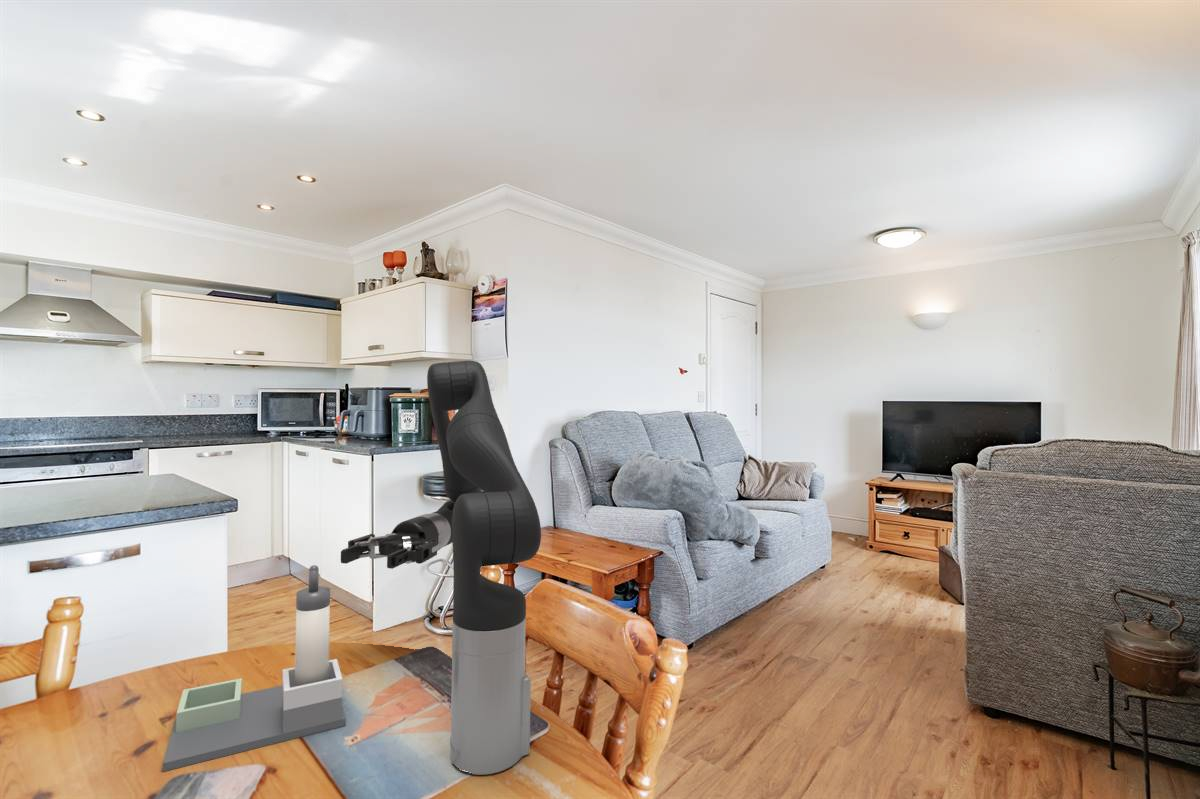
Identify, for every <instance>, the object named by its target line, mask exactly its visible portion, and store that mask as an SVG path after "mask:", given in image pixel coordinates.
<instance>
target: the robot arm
mask: <svg viewBox="0 0 1200 799" xmlns="http://www.w3.org/2000/svg"><path fill="white" fill-rule="evenodd" d="M426 376H427V377H426V383H427V393H428V394H427V395H428V400H429V407H430V412H431V416H432V422H433V426H434V431H435V436H436V440H437V443H438V449H439V452H440V456H441V462H442V473H443V483H444V493H445V495H446V497H447V498H448V499H449V500H447V501H445V502H444V503H443V504H442V506H440V507H439V509H437V510H436V511H434V512H431V513H424V514H421V515H418V516H415V517H412V518H409V519H407V520H404V521H401V522H400V523H398V524H396V526H395V527H394V528H393V530H392V532H390V533H386V534H384V535H381V536H380V535H379V536H376V535H375V534H374V533H369V534H367V535H364V536H359V537H358V538H355V539H354V538H353V539H350V540H348V541H347V542H348V543H347V547H345V548H343V549H342V550H341V551H340V563H341V564H349V563H351V562H354V561H357V560H359V559H362V558H363V559H364V558H367V557H368V558H370V559H371V560H375V559H376V560H377V559H381V558H386V560H387V561H386V568H387V569H391V570H393V569H394V568H397V567H399V566H402V565H403V564H407V565H408V564H411V563H415V564H419V565H420V564H423V563H425V562H427V561H429V560H431V559H432V558H434V557H436V556H437V555H438V551H440V550H441V549H443V548H444V547H447V546H449V545H450V544H452V558H453V559H452V561H453V562H452V563H453V566H452V568H453V587H452V588H453V593H452V594H453V595H452V596H453V597H452V598H453V599H452V600H453V602H452V603H453V604H452V606H453V607H452V634H451V635H452V636H451V639H452V641H451V644H452V645H451V647H452V649H451V693H450V694H451V695H450V696H451V697H450V706H451V707H450V739H449V746H450V754H449V755H450V756H449V757H450V761H452V762H453V763H452V762H451V763H452V765H453V764H454V765H455V766H456V767H457V768H456V767H455V766H454V765H453V766H454V767H455V768H456V769H458V768H459V769H461V770H465V771H468V772H471V773H472V774H471V775H477V776H478V775H479V776H481V775H492V774H496V773H500V772H502V771H505V770H507V769H509V768H511V767H513V766H514V765H515V764H517V763H518V762H519V760H520V759H522V758H523V757H524V756H527V755H529V754H530V752H531V751H530V744H531V740H530V739H531V699H532V698H531V695H532V694H531V693H532V692H531V691H532V690H531V688H532V686H531V685H532V684H531V683H532V682H531V681H532V680H531V678H530V677H529V675H527V672H526V621H527V617H526V616H527V599H526V596H525V594H524V593H523V592H522V591H521V590H520V589H518V588H516V587H514V586H511V585H508V584H505V583H501V582H500V583H499V582H496V581H495V580H492V579H489V578H487V577H486V576H483V574H481V568H482V567H488V566H489V567H490V566H491V567H492V566H499V565H501V566H502V565H511V564H519V563H523V562H527V561H529V560H531V559H533V558H534V557H535V556H536V555H537V553H538V552H539V550H540V548H541V547H540V546H541V542H542V527H541V520H540V515H539V512H538V509H537V506H536V503H535V501H534V498H533V496H532V494H531V492H530V490H529V488H528V486H527V485H526V482H525V481H524V479H523V477H522V476H521V473H520V471H519V470H518V468H517V465H516V463H515V461H514V458H513V455H512V452H511V449H510V445H509V442H508V438H507V436H506V432H505V431H504V427H503V425H502V423H501V421H500V418H499V415H498V413H497V411H496V407H495V405H494V402H493V398H492V393H491V390H490V384H489V381H488V380H489V379H488V376H487V373H486V371H485V368H484V367H483V365H482V364H481V363H480V362H478V361H476V360H460V361H459V360H458V361H457V360H456V361H448V362H437V363H436V362H435V363H432V364H431V365H429V367H428V369H427V374H426ZM449 411H450V412H451V411H457V412H455V414H454V415H453V417H452V418H451V419H450V416H449ZM482 491H483V492H482ZM376 547H378V552H377V553H376ZM459 769H458V770H459ZM461 770H460V771H461Z"/></svg>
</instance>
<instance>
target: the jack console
mask: <svg viewBox="0 0 1200 799" xmlns="http://www.w3.org/2000/svg"><path fill="white" fill-rule="evenodd" d="M281 673H282V676H281V677H282V678H281V680H282V681H281V683H282V684H280V685H278V686H273V687H268V688H264V689H259V690H254V691H250V692H249V691H248V692H244V693H242V692H243V691H242V690H243V678H237V679H232V680H231V679H230V680H226V681H220V682H216V683H211V684H206V685H200V686H196V687H191V688H185V689H183V690H182V693H181V696H180V700H179V703H178V707H177V711H176V717H175V720H174V722H173V727H172V731H171V733H170V737H169V741H168V744H167V748H166V750H165V751H166V752H165V754H164V758H163V761H162V772H163V773H164V772H167V771H172V770H175V769H179V768H185V767H187V766H192V765H195V764H199V763H203V762H207V761H211V760H216V759H219V758H223V757H227V756H231V755H235V754H239V753H242V752H247V751H251V750H255V749H258V748H263V747H266V746H270V745H273V744H279V743H282V742H286V741H291V740H294V739H298V738H302V737H305V736H310V735H314V734H318V733H321V732H325V731H330V730H333V729H337V728H341V727H345V726H346V720H347V719H346V714H345V710H344V707H343V677H342V676H343V675H342V672H341V668H340V665H339V660H338V658H334V659H329V680H324V681H320V682H315V683H310V684H305V685H301V686H296V687H295V666H294V667H289V668H283V669H282V672H281Z"/></svg>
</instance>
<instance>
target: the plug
mask: <svg viewBox="0 0 1200 799" xmlns="http://www.w3.org/2000/svg"><path fill="white" fill-rule="evenodd" d="M319 571H320V570H319V567H318V565H315V564H314V565H311V566H309V569H308V587H306V588H302V589H299V590H298V591H297V592H296V594H295V601H296V602H295V604H296V605H295V645H294V646H295V649H294V650H295V652H294V657H295V658H294V667H295V687H296V686H301V685H305V684H310V683H315V682H320V681H324V680H329V660H330V623H331V622H330V621H331V620H330V619H331V618H330V617H331V615H330V614H331V613H330V612H331V588H330V587H327V586H319V577H320V576H319V575H320V574H319Z"/></svg>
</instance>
